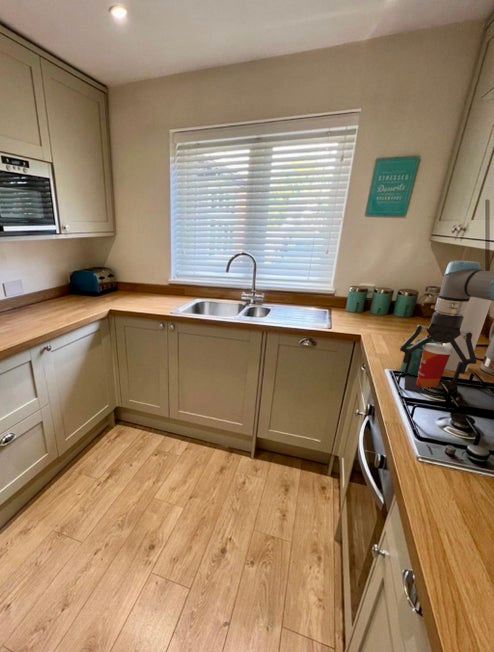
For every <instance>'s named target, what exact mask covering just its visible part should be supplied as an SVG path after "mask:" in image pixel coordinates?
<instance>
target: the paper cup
mask: <svg viewBox="0 0 494 652" xmlns="http://www.w3.org/2000/svg"><path fill="white" fill-rule="evenodd" d="M451 350H452V349H451V348H450V347H448V346H445V347H444V346H443V344H442V343H440V344H436V343H427V344H425V346H424V347H423V354H422V358H421V363H420V367H419V372H418V377H416V378H417V382H416V384H417V386H419V387H421V388H422V387H427V388H428V387H429V388H431V387H436V386H438V384H439V383H440V382H441V379H442V376H443V374H444V371H445V370H446V369H445V367H446V364H447V362H448V359H449V357H450V354H452V351H451Z"/></svg>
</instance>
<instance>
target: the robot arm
mask: <svg viewBox="0 0 494 652" xmlns="http://www.w3.org/2000/svg"><path fill="white" fill-rule="evenodd" d="M481 265H482V264H481V262H479V261H473V260H452V261H450V262H449V263H448V264H447V267H446V269H445V272H444V274H443V278H442V281H441V286H440V290H439V294H438V296H437V299H436V303H435V306H434V310H435V311H434V312H433V313H432V317H431V320H430V324H429V325H428V326H425V325H422V324H420V323H419V324H417V326H416V328H415V330H414V331H413V333H412V334H411V335H410V336H409V337H408V338H407V339H406V340H405V341H404V342H403V343H402V344H401V345H400V346H399V351H400V352H402V353H405V356H404V355H403V357H404V359H403V358H402V360H403V362H404V363H406V367H405V370H404V373H406V374H407V372H408V368H409V365H410V361H411V358H412V352H413V351H415V350H416V349H418V348H419V347H421V346H423V345H424V344H426V343H427V342H430V341H434V342H438V343H441V344H443V343H449V342H450V343H451V345H452V346H453V348H454V349H455V351H456V352H457V354H458V356H459V357H460V359H461V360H462V362H460V361H459V362H458V365H457V368H456V371H454V374H453V377H452V383H453V384H457V383H458V380H459V377H460V374H463V375H464V374H465V373H466V372H465V370H466V367H467V365H468V364H469V365H475V364H477V358H476V353H475V350H473V346H472V342H471V338H472V333H471V332H470V331H467V332H461V331H460V328H461V325H462V321H463V318H464V316H463V315H462V314H465V312H466V309H467V306H468V302H469V300H470V297H476V298H481V299H486V300H491V302H494V271H493V270H484V269H481ZM425 331H426V332H427V335H426V336H424V337H423V338H421V339H422V340H420V341H419V342H417V343H416V342H415V343H416V344H415V343H413V342H414V341H415V340H416V339H417V338H418V337H419V335H420V334H422V333H424V332H425ZM460 335H461V336H462V337H463V339H465V342H466V345H467V349H468V353H469V357H470V359H466V357H465V355H464V354H463V352H462V351H461V349H460V348H459V346H458V344H457V343H456V341H455V340H454V339H456V338H457V337H459V336H460ZM410 344H414V345H412V346H411V347H409V348H408V349H407V347H408V346H409V345H410ZM404 373H403V374H404ZM406 374H405V375H406Z"/></svg>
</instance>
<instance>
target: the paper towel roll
mask: <svg viewBox="0 0 494 652" xmlns="http://www.w3.org/2000/svg"><path fill="white" fill-rule="evenodd" d="M491 304H492V301H491V300H486V299H481V298H476V297H470V300H469V302H468V306H467V309H466V312H465V314H462V315H463V316H464V318H463V321H462V325H461V328H460V331H461V332H467V331H470V332H471V333H472V338H471V342H472V346H473V350H474V351H475V350H476V346H477V344H478V341H479V338H480V336H481V332H482V330H483V328H484V327H483V326H484V324H485V321H486V318H487V315H488V313H489V309H490V307H491ZM454 340H455V341H456V343H457V344H458V346H459V348H460V349H461V351H462V352H463V354H464V355H465V357H466V359H470V357H469V353H468V349H467V345H466V342H465V339H463V337H462V336H461V335H460V336H459V337H457V338H456V339H454ZM442 345H443V346H444V347H445V346H448V347H450V348H451V349H452V350H451V351H452V354H450V357H449V359H448V362H447V364H446V367H445V369H444V370H447V371H451V372H455V371H456V368H457V365H458V362H459V361H460V362H462V360H461V359H460V357H459V356H458V354H457V352H456V351H455V349H454V348H453V346H452V345H451V343H450V342H449V343H442ZM469 368H470V364H468V365H467V367H466V370H465V373H466V372H468V370H469Z"/></svg>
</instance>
